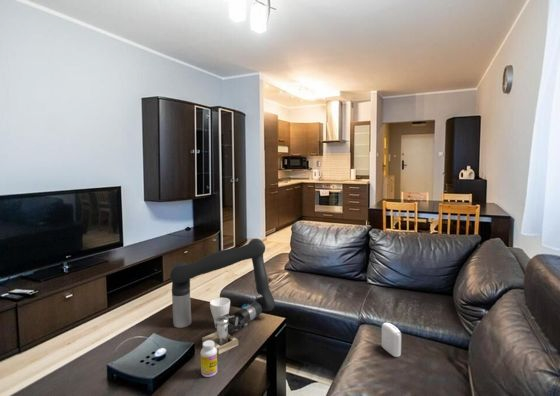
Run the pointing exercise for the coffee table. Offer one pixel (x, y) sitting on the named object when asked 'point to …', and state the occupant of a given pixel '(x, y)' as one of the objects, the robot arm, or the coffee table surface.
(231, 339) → the jig
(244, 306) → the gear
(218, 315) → the cup
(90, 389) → the coffee table surface
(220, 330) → the salt shaker
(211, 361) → the supplement bottle
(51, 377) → the coffee table surface
